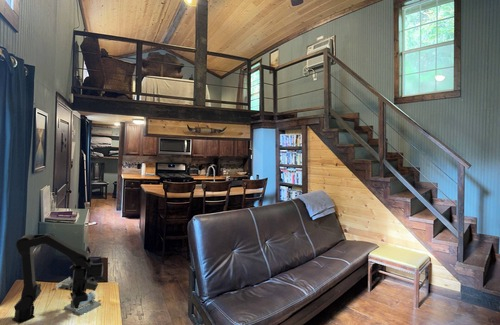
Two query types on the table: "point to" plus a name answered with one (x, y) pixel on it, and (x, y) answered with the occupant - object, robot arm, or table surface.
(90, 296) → the lever
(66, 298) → the table surface
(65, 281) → the graphics card
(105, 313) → the table surface
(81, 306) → the lid
